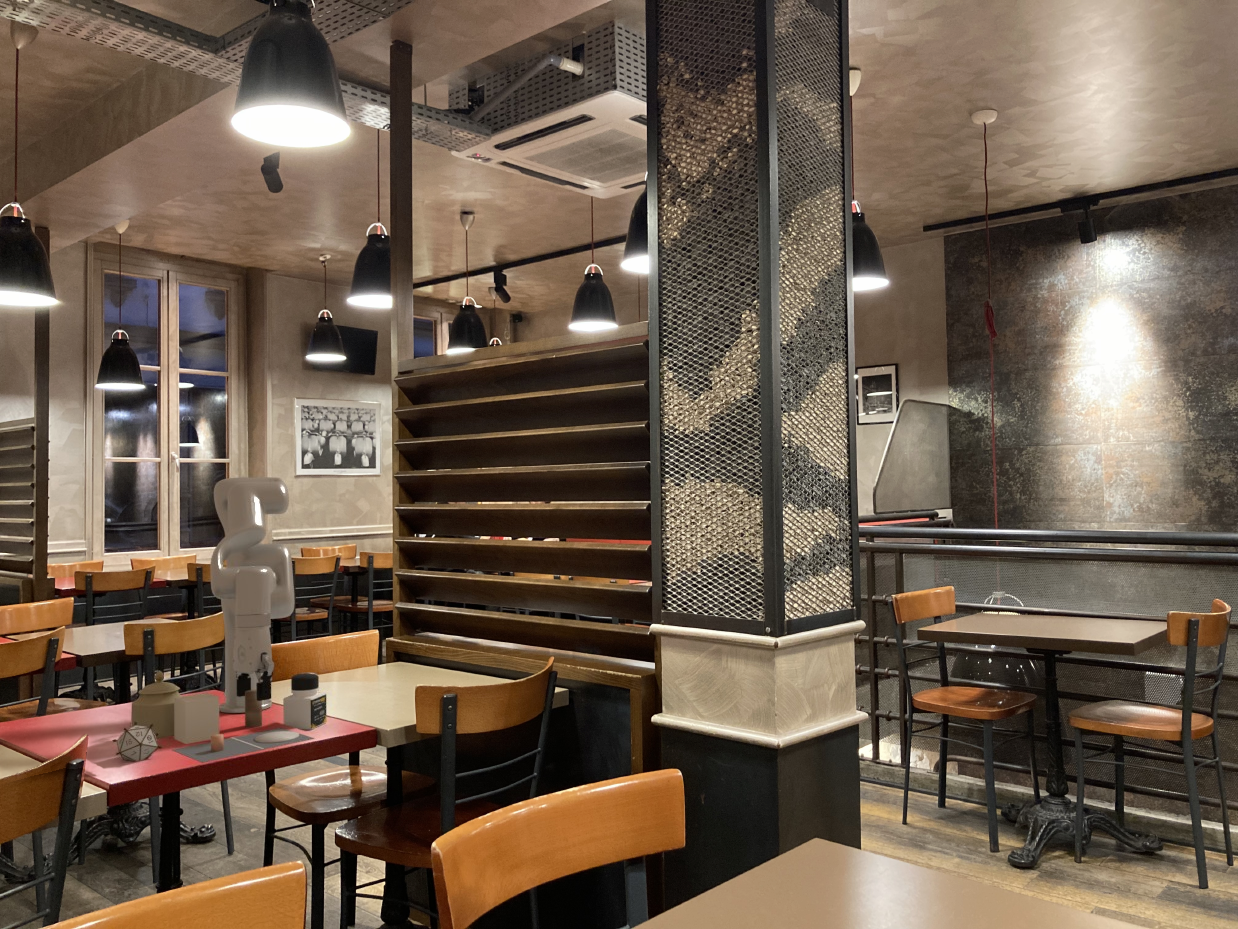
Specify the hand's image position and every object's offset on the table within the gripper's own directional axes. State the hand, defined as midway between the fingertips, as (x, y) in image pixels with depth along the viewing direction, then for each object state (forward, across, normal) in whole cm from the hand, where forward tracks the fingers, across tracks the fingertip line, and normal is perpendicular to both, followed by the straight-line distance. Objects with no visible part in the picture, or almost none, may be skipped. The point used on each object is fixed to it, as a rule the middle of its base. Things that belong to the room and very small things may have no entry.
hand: (253, 697), depth 215 cm
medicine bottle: (+8, +4, +10) cm, 14 cm away
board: (+8, +13, -9) cm, 18 cm away
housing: (+3, -3, -13) cm, 13 cm away
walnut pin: (+8, -1, 0) cm, 8 cm away
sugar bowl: (+8, -14, -17) cm, 23 cm away
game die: (+8, +7, -28) cm, 30 cm away
